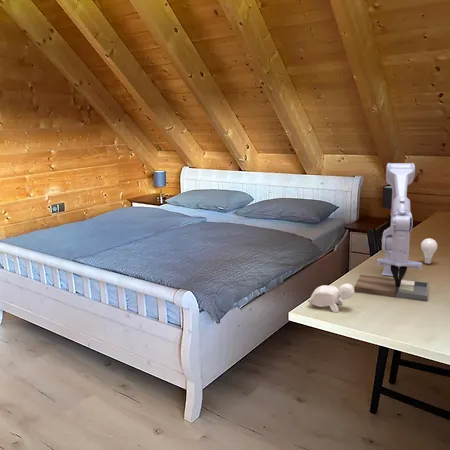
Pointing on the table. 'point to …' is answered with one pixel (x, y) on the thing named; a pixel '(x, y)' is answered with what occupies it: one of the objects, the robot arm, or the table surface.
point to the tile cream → (408, 283)
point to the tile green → (406, 288)
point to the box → (416, 292)
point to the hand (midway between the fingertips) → (397, 286)
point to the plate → (376, 286)
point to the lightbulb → (428, 249)
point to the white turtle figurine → (331, 296)
